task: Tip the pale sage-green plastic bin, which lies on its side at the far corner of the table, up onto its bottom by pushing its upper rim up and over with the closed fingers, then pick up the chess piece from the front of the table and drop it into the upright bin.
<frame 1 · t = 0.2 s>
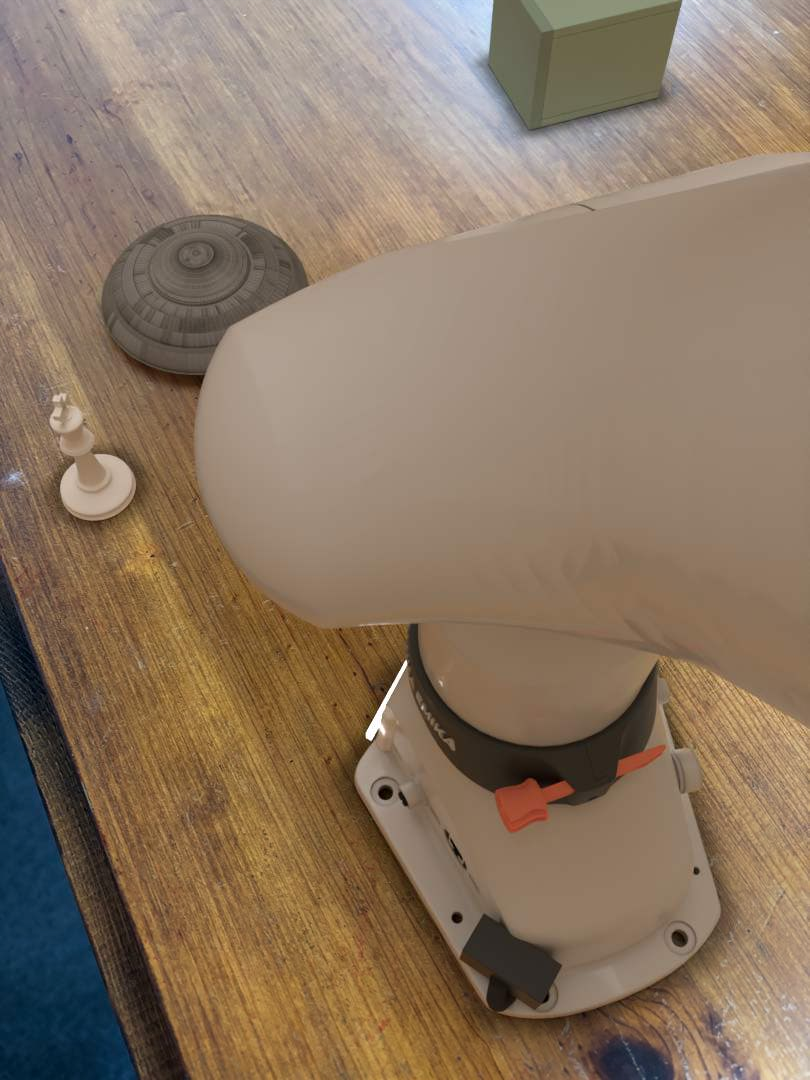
bin: (580, 33, 87), point 4 cm above the table
flying saucer: (208, 308, 79), on the table
chess piece: (99, 490, 71), on the table
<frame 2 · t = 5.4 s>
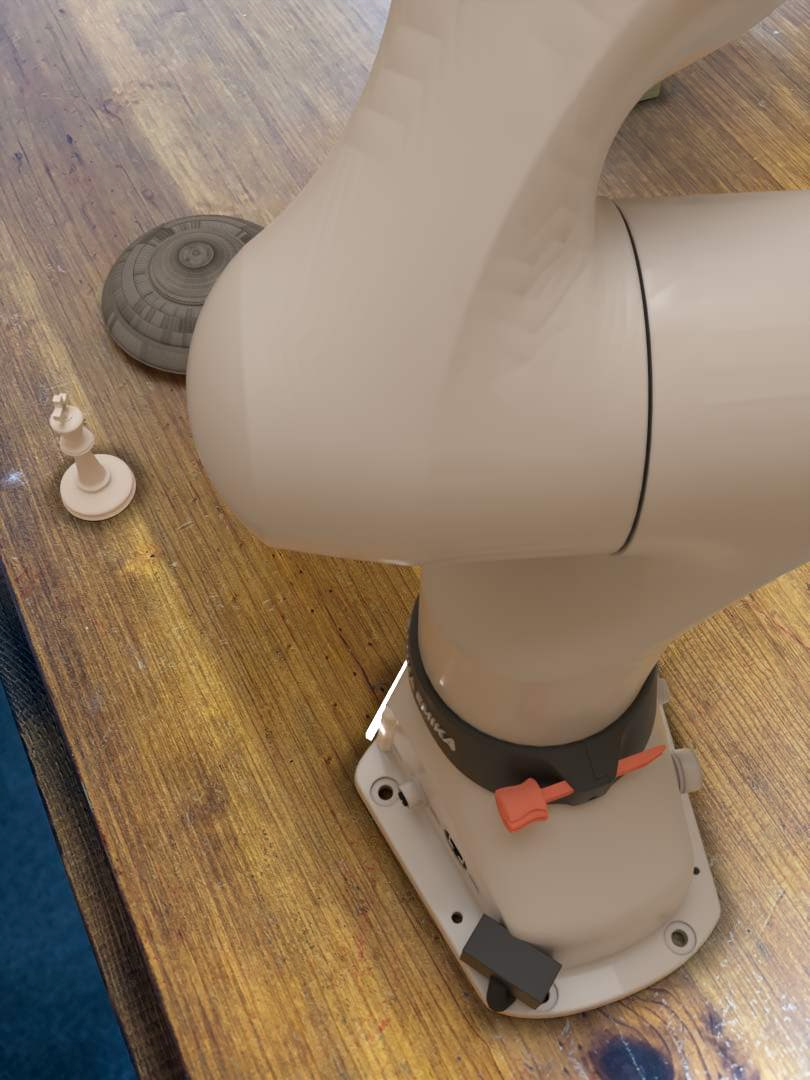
bin: (579, 32, 87), point 5 cm above the table, touching gripper
everything else where it was.
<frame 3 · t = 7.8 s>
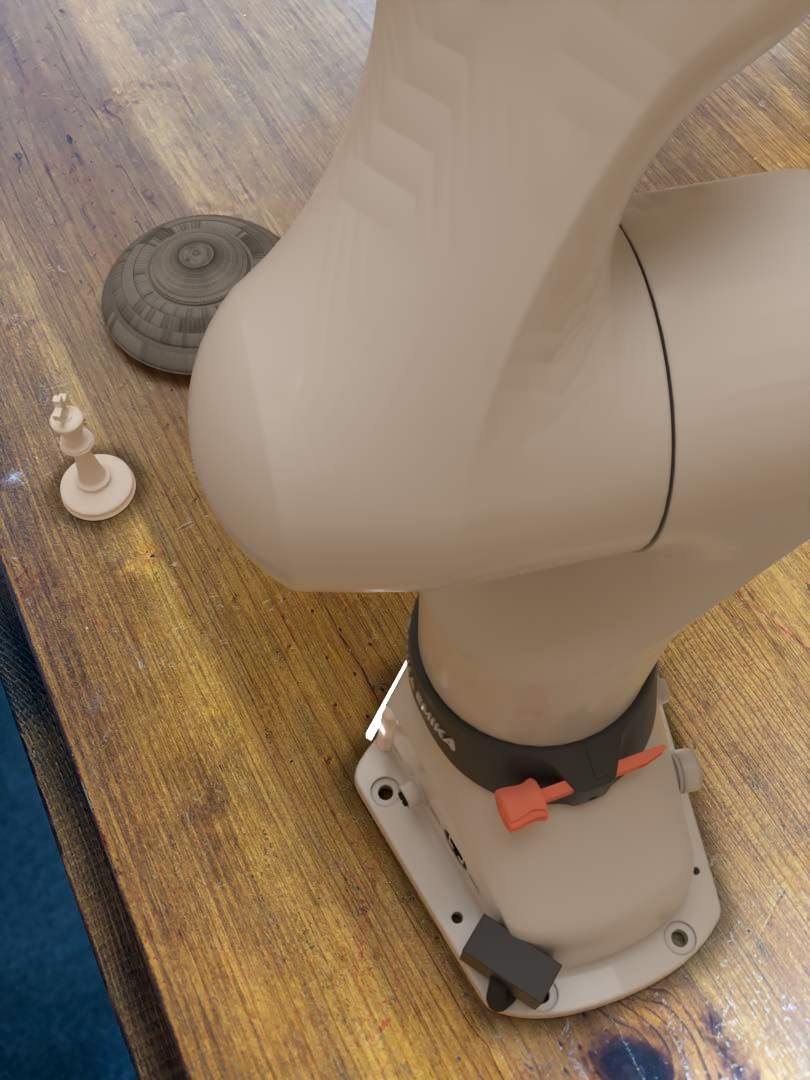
bin: (535, 13, 84), point 7 cm above the table, tilted 40°, touching gripper
everything else where it was.
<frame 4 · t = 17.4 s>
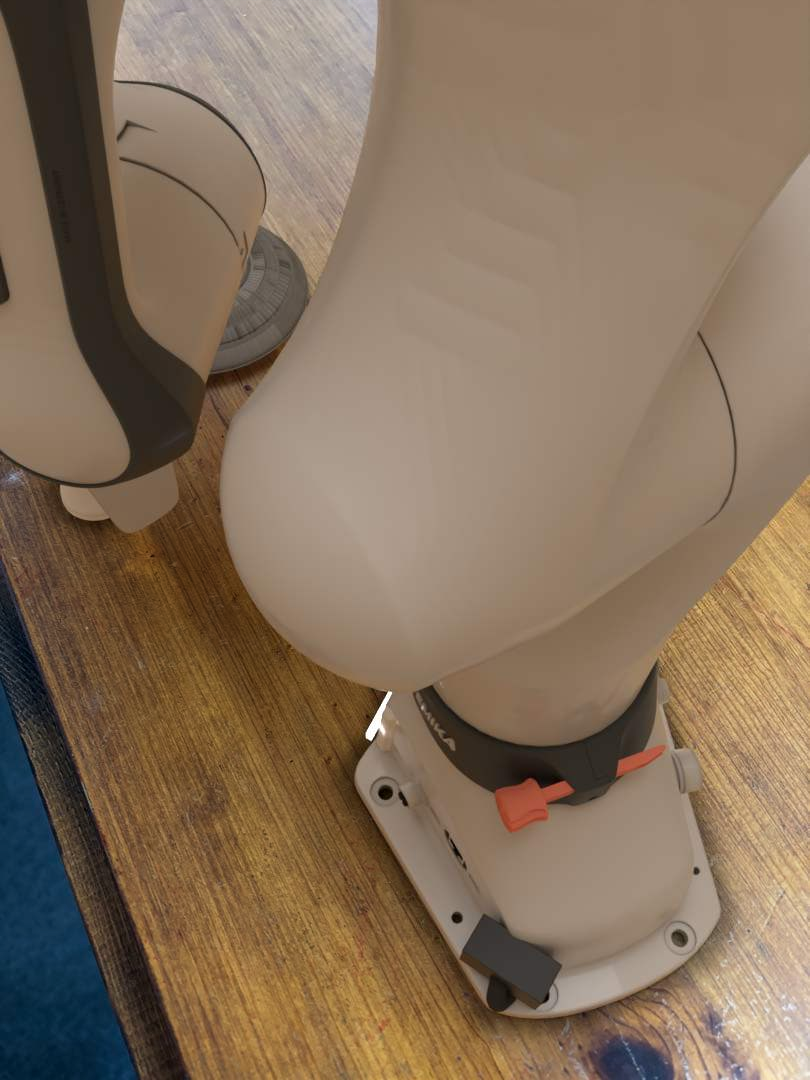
hand: (85, 459, 68), 4 cm above the table, tool pointing down, fingers closed on chess piece
bin: (461, 45, 84), point 6 cm above the table, tilted 90°
chess piece: (99, 490, 71), on the table, touching gripper
everything else where it was.
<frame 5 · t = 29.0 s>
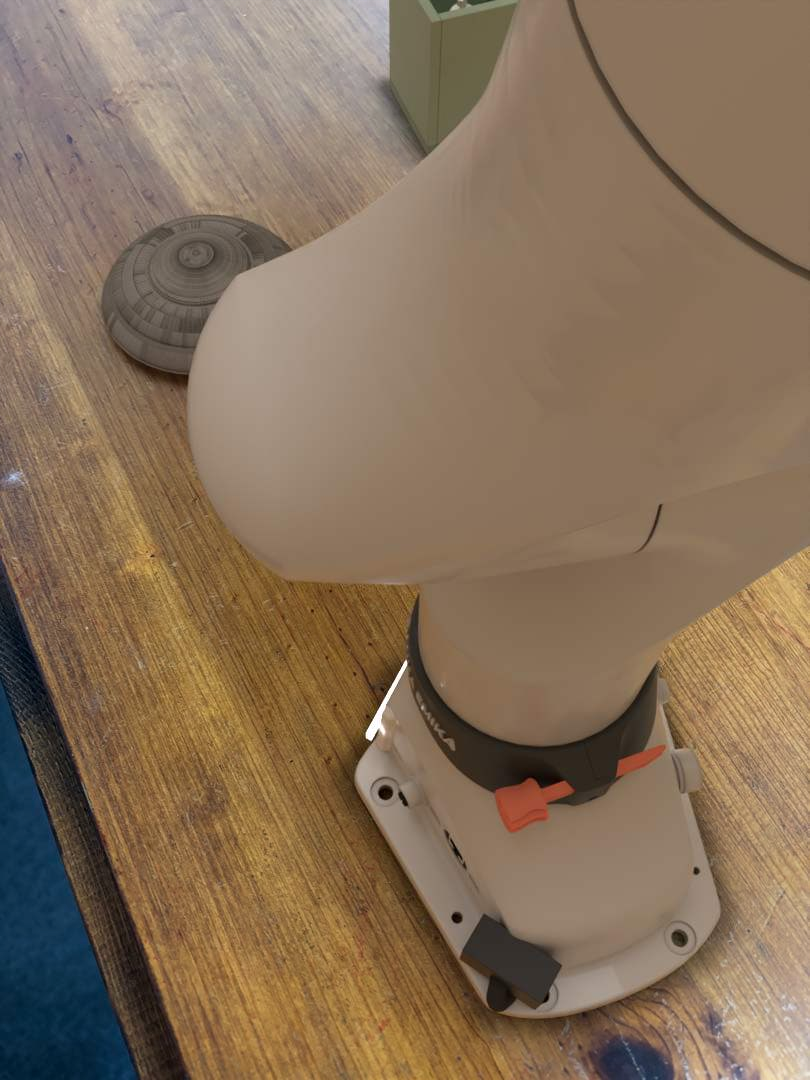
bin: (461, 45, 84), point 6 cm above the table, tilted 90°, touching chess piece
chess piece: (457, 101, 89), point 1 cm above the table, touching bin
everything else where it was.
at the end: bin tilted 90°; bin inside the target area (0.1 cm from its centre), point 6.0 cm above the table; chess piece 0.1 cm off-centre under the bin, point -5.2 cm above the bin's base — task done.
